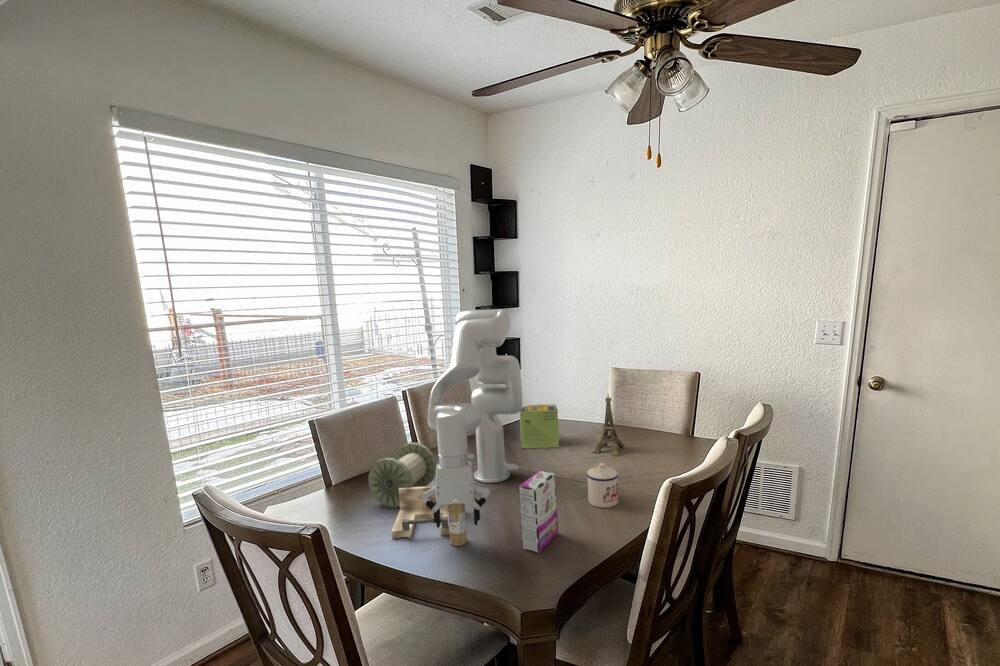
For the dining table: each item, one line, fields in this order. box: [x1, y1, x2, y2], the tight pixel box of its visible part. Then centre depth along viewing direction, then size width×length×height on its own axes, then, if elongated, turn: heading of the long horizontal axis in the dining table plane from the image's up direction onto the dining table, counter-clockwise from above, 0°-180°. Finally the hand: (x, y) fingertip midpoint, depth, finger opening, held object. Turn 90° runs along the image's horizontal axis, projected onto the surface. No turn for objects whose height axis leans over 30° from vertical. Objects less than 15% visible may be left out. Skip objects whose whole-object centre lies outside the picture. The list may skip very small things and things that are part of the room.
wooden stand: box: [390, 485, 450, 539], centre depth 135 cm, size 18×14×8 cm
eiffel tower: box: [591, 394, 628, 458], centre depth 187 cm, size 11×11×25 cm
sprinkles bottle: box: [448, 499, 468, 547], centre depth 124 cm, size 5×5×14 cm
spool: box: [367, 442, 438, 509], centre depth 155 cm, size 16×15×15 cm
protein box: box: [519, 403, 560, 449], centre depth 200 cm, size 10×15×16 cm
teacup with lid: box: [586, 462, 619, 509], centre depth 144 cm, size 12×9×12 cm
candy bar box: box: [518, 470, 559, 554], centre depth 123 cm, size 11×5×16 cm, turn 148°
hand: (457, 523), depth 125 cm, fingers open, 9 cm apart
